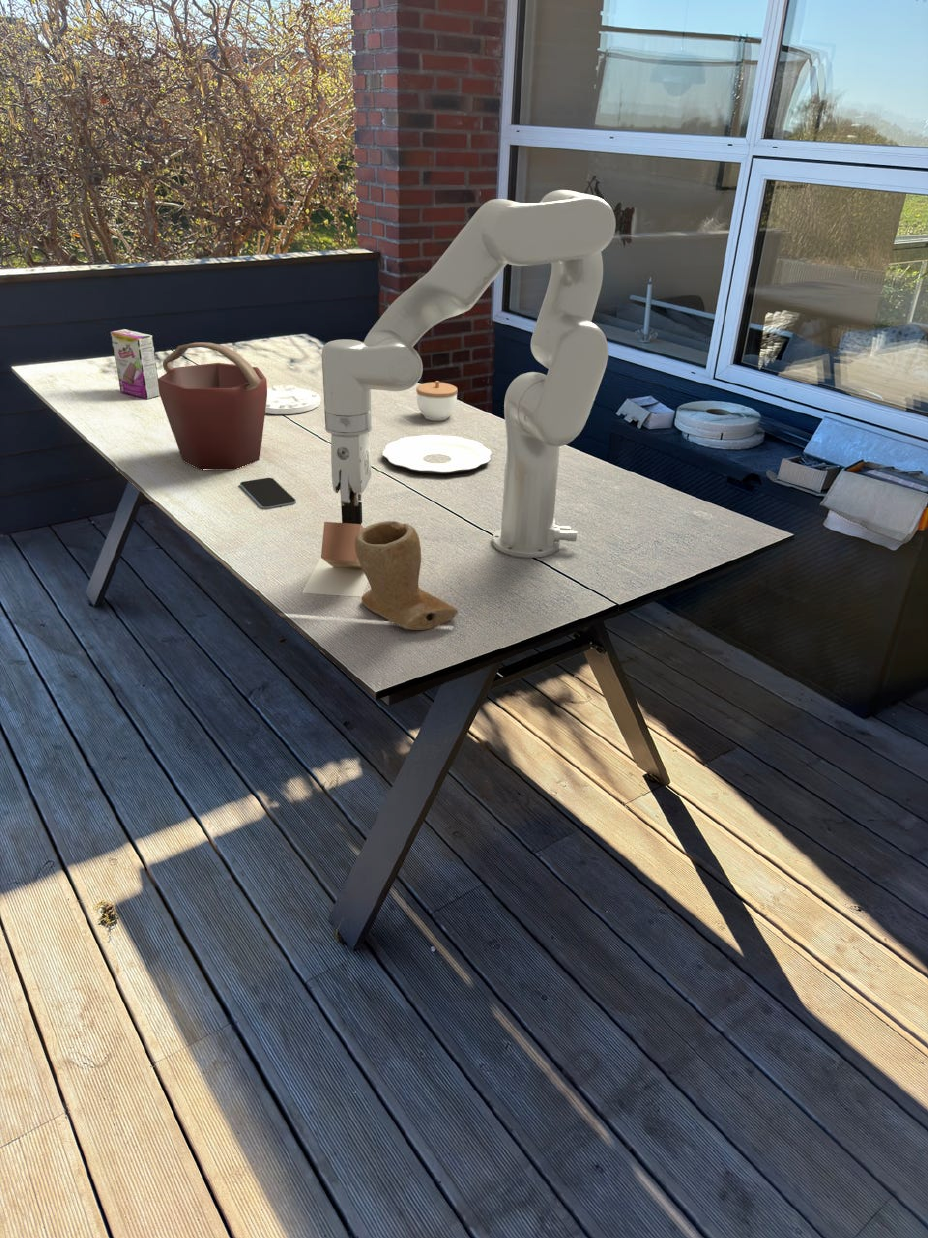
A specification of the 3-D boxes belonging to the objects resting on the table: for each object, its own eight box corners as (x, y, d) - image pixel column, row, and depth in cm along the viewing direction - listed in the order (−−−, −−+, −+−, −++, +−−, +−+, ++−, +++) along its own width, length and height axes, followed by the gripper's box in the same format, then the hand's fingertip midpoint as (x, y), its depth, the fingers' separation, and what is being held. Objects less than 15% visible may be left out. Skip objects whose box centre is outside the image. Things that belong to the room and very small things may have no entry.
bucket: (151, 454, 203) (134, 341, 190) (233, 434, 217) (223, 328, 204) (212, 483, 188) (198, 364, 176) (296, 459, 203) (289, 347, 190)
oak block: (370, 535, 155) (360, 524, 145) (367, 569, 154) (357, 560, 145) (336, 532, 155) (324, 521, 145) (333, 566, 155) (320, 557, 145)
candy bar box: (119, 392, 244) (109, 331, 236) (133, 389, 248) (124, 328, 239) (146, 400, 239) (137, 337, 231) (161, 396, 242) (153, 334, 234)
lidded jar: (439, 425, 228) (440, 389, 223) (407, 417, 233) (407, 381, 229) (464, 416, 235) (466, 381, 231) (433, 408, 241) (433, 373, 236)
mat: (384, 543, 165) (384, 541, 165) (362, 599, 146) (361, 596, 146) (331, 539, 166) (331, 537, 165) (302, 595, 147) (301, 592, 146)
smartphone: (262, 507, 177) (238, 482, 188) (262, 512, 177) (238, 486, 188) (297, 501, 180) (271, 476, 191) (297, 505, 181) (272, 480, 192)
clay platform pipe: (342, 608, 143) (338, 522, 136) (400, 587, 150) (400, 504, 143) (399, 647, 134) (399, 556, 126) (459, 622, 141) (462, 536, 133)
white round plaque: (313, 418, 231) (312, 407, 230) (237, 415, 231) (236, 404, 230) (325, 396, 249) (324, 386, 247) (254, 393, 249) (254, 382, 247)
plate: (426, 435, 222) (427, 428, 221) (511, 457, 209) (512, 450, 208) (360, 461, 204) (360, 453, 203) (448, 487, 191) (448, 479, 191)
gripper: (362, 436, 137) (365, 544, 146) (379, 408, 150) (381, 509, 159) (314, 433, 138) (320, 541, 147) (335, 405, 151) (340, 506, 160)
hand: (352, 524), depth 153 cm, fingers closed
